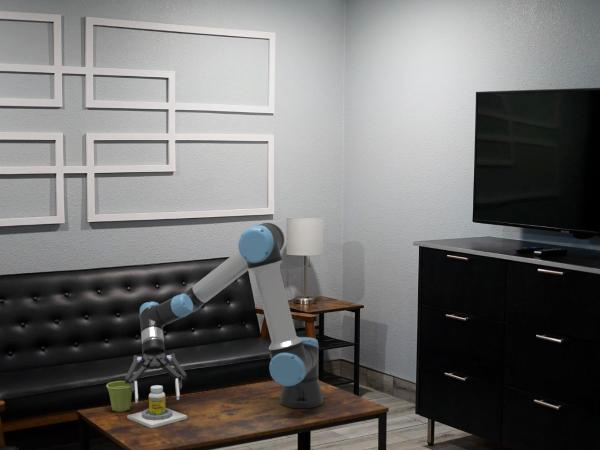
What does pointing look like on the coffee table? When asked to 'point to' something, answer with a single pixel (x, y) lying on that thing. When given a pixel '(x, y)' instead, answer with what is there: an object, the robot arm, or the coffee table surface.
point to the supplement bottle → (157, 401)
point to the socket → (156, 418)
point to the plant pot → (120, 395)
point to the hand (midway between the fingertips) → (157, 399)
